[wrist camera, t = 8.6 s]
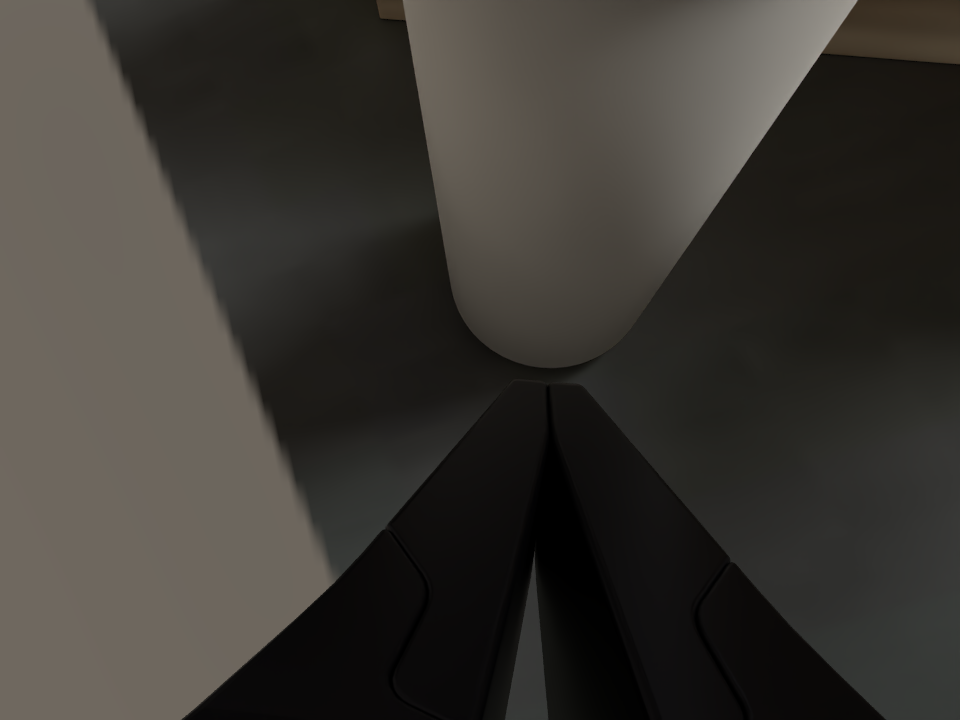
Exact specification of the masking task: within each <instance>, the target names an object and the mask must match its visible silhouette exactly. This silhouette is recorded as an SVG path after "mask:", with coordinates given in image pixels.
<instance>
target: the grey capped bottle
mask: <svg viewBox="0 0 960 720" xmlns="http://www.w3.org/2000/svg"><path fill="white" fill-rule="evenodd" d="M857 1H858V0H403V5H404V11H405V17H406V23H407V29H408V35H409V41H410V47H411V53H412V59H413V65H414V71H415V77H416V83H417V88H418V94H419V100H420V106H421V112H422V118H423V124H424V130H425V136H426V142H427V148H428V154H429V160H430V166H431V172H432V178H433V184H434V190H435V195H436V201H437V207H438V213H439V219H440V225H441V231H442V237H443V243H444V249H445V255H446V261H447V267H448V273H449V279H450V285H451V290H452V294H453V298H454V301H455V304H456V306H457V309H458V311H459V313H460V315H461V317H462V319H463V321H464V322H465V324H466V325H467V326H468V328H469V329H470V330H471V332H472V333H473V334H474V335H475V336H476V337H477V338H478V339H479V340H480V341H481V342H482V343H483V344H485V345H486V346H487V347H488V348H490V349H491V350H493V351H494V352H496V353H498V354H499V355H501V356H503V357H505V358H507V359H509V360H512V361H514V362H517V363H520V364H524V365H527V366H533V367H539V368H561V367H569V366H573V365H578V364H581V363H584V362H587V361H590V360H592V359H594V358H596V357H598V356H600V355H602V354H604V353H605V352H607V351H608V350H610V349H611V348H612V347H614V346H615V345H616V344H617V343H618V342H619V341H620V340H622V339H623V338H624V337H625V335H626V334H627V333H628V332H629V330H630V329H631V328H632V327H633V325H634V324H635V322H636V321H637V319H638V318H639V317H640V315H641V314H642V312H643V311H644V309H645V308H646V306H647V305H648V304H649V302H650V301H651V299H652V298H653V296H654V295H655V293H656V292H657V291H658V289H659V288H660V286H661V285H662V283H663V282H664V280H665V279H666V277H667V276H668V275H669V273H670V272H671V270H672V269H673V267H674V266H675V264H676V263H677V262H678V260H679V259H680V257H681V256H682V254H683V253H684V251H685V250H686V248H687V247H688V246H689V244H690V243H691V241H692V240H693V238H694V237H695V235H696V234H697V233H698V231H699V230H700V228H701V227H702V225H703V224H704V222H705V221H706V220H707V218H708V217H709V215H710V214H711V212H712V211H713V209H714V208H715V206H716V205H717V204H718V202H719V201H720V199H721V198H722V196H723V195H724V193H725V192H726V191H727V189H728V188H729V186H730V185H731V183H732V182H733V180H734V179H735V178H736V176H737V175H738V173H739V172H740V170H741V169H742V167H743V166H744V164H745V163H746V162H747V160H748V159H749V157H750V156H751V154H752V153H753V151H754V150H755V149H756V147H757V146H758V144H759V143H760V141H761V140H762V138H763V137H764V135H765V134H766V133H767V131H768V130H769V128H770V127H771V125H772V124H773V122H774V121H775V120H776V118H777V117H778V115H779V114H780V112H781V111H782V109H783V108H784V107H785V105H786V104H787V102H788V101H789V99H790V98H791V96H792V95H793V93H794V92H795V91H796V89H797V88H798V86H799V85H800V83H801V82H802V80H803V79H804V78H805V76H806V75H807V73H808V72H809V70H810V69H811V67H812V66H813V65H814V63H815V62H816V60H817V59H818V57H819V56H820V54H821V53H822V51H823V50H824V49H825V47H826V46H827V44H828V43H829V41H830V40H831V38H832V37H833V36H834V34H835V33H836V31H837V30H838V28H839V27H840V25H841V24H842V23H843V21H844V20H845V18H846V17H847V15H848V14H849V12H850V11H851V9H852V8H853V7H854V5H855V4H856V2H857Z"/></svg>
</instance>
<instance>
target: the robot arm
mask: <svg viewBox="0 0 960 720" xmlns="http://www.w3.org/2000/svg"><path fill="white" fill-rule="evenodd" d="M534 551H535V570H536V584H537V596H538V607H539V618H540V630H541V641H542V652H543V664H544V675H545V686H546V698H547V709H548V720H886V719H885V718H884V717H883V716H882V715H881V714H879V713H878V712H877V711H876V710H875V709H874V708H873V707H872V706H871V705H870V704H869V703H868V702H867V701H866V700H865V699H864V698H863V697H862V696H861V695H860V694H859V693H858V692H857V691H856V690H855V689H854V688H852V687H851V686H850V685H849V684H848V683H847V682H846V681H845V680H844V679H843V678H842V677H841V676H840V675H839V674H838V673H837V672H836V671H835V670H834V669H833V668H832V667H831V666H830V665H829V664H828V663H827V662H826V661H825V660H824V659H823V658H822V657H821V656H820V655H819V654H818V653H817V652H816V651H815V650H814V649H813V648H812V647H811V646H810V645H809V644H808V643H807V642H806V641H805V640H804V639H803V638H802V637H801V636H800V635H799V634H798V633H797V632H796V631H795V630H794V629H793V628H792V627H791V626H790V625H789V624H788V623H787V621H786V620H785V619H784V618H783V617H782V616H781V615H780V614H779V613H778V611H777V610H776V609H775V608H774V607H773V606H772V605H771V604H770V603H769V602H768V600H767V599H766V598H765V597H764V596H763V595H762V594H761V593H760V592H759V590H758V589H757V588H756V587H755V586H754V585H753V584H752V582H751V581H750V580H749V579H748V578H747V577H746V575H745V574H744V573H743V572H742V571H741V570H740V568H739V567H738V566H737V565H736V564H735V563H733V562H731V563H730V557H729V556H728V555H727V554H726V553H725V551H724V550H723V549H722V548H721V547H720V546H719V544H718V543H717V542H716V541H715V540H714V539H713V537H712V536H711V535H710V534H709V533H708V532H707V530H706V529H705V528H704V527H703V526H702V525H701V523H700V522H699V521H698V520H697V519H696V518H695V516H694V515H693V514H692V513H691V512H690V511H689V509H688V508H687V507H686V506H685V505H684V504H683V502H682V501H681V500H680V499H679V498H678V497H677V495H676V494H675V493H674V492H673V491H672V490H671V488H670V487H669V486H668V485H667V484H666V483H665V481H664V480H663V479H662V478H661V477H660V476H659V474H658V473H657V472H656V471H655V470H654V469H653V467H652V466H651V465H650V464H649V463H648V462H647V460H646V459H645V458H644V457H643V456H642V455H641V453H640V452H639V451H638V450H637V449H636V448H635V446H634V445H633V444H632V443H631V442H630V441H629V439H628V438H627V437H626V436H625V435H624V434H623V432H622V431H621V430H620V429H619V428H618V426H617V425H616V424H615V423H614V422H613V421H612V419H611V418H610V417H609V416H608V415H607V414H606V412H605V411H604V410H603V409H602V408H601V407H600V405H599V404H598V403H597V402H596V401H595V400H594V398H593V397H592V396H591V395H590V394H589V393H588V391H587V390H586V389H585V388H584V387H583V386H581V385H579V384H569V383H557V382H553V383H550V384H549V385H548V387H547V385H546V384H545V383H544V382H542V381H534V380H523V379H515V380H512V381H511V382H510V383H509V385H508V386H507V387H506V388H505V389H504V390H503V392H502V393H501V394H500V395H499V396H498V397H497V398H496V400H495V401H494V402H493V403H492V404H491V405H490V407H489V408H488V409H487V410H486V411H485V412H484V413H483V415H482V416H481V417H480V418H479V419H478V420H477V422H476V423H475V424H474V425H473V426H472V427H471V428H470V430H469V431H468V432H467V433H466V434H465V435H464V437H463V438H462V439H461V440H460V441H459V442H458V443H457V445H456V446H455V447H454V448H453V449H452V450H451V452H450V453H449V454H448V455H447V456H446V457H445V458H444V460H443V461H442V462H441V463H440V464H439V465H438V467H437V468H436V469H435V470H434V471H433V472H432V473H431V475H430V476H429V477H428V478H427V479H426V480H425V482H424V483H423V484H422V485H421V486H420V487H419V488H418V490H417V491H416V492H415V493H414V494H413V495H412V497H411V498H410V499H409V500H408V501H407V502H406V503H405V505H404V506H403V507H402V508H401V509H400V510H399V512H398V513H397V514H396V515H395V516H394V517H393V518H392V520H391V521H390V522H389V523H388V524H387V526H386V529H384V530H382V531H381V532H380V533H379V534H378V535H377V536H376V538H375V539H374V540H373V541H372V542H371V543H370V545H369V546H368V547H367V548H366V549H365V550H364V552H363V553H362V554H361V555H360V556H359V557H358V558H357V559H356V560H355V561H354V562H353V563H352V564H351V566H350V567H349V568H348V569H347V570H346V571H345V572H344V573H343V574H342V575H341V576H340V577H339V578H338V579H337V580H336V582H335V583H334V584H333V585H332V586H330V587H329V588H328V589H327V590H326V591H325V592H324V593H323V594H322V595H321V596H320V597H319V598H318V599H317V600H315V601H314V602H313V603H312V604H311V605H310V606H309V607H308V608H307V609H306V610H305V611H304V612H303V613H302V614H301V615H299V616H298V617H297V618H296V619H295V620H294V621H293V622H292V623H291V624H289V625H288V626H287V627H286V628H285V629H284V630H283V631H282V632H280V633H279V634H278V635H277V636H276V637H275V638H274V639H273V640H271V641H270V642H269V643H268V644H267V645H266V646H265V647H264V648H262V649H261V650H260V651H259V652H258V653H257V654H256V655H255V656H254V657H252V658H251V659H250V660H249V661H248V662H247V663H246V664H244V665H243V666H242V667H241V668H240V669H239V670H238V671H237V672H235V673H234V674H233V675H232V676H231V677H230V678H229V679H228V680H227V681H225V682H224V683H223V684H222V685H221V686H220V687H219V688H217V690H215V691H214V692H213V693H212V694H211V695H210V696H208V697H207V698H206V699H205V700H204V701H203V702H202V703H201V704H199V705H198V706H197V707H196V708H195V709H194V710H193V711H191V712H190V713H189V714H188V715H186V716H185V717H184V718H183V719H182V720H505V715H506V710H507V704H508V699H509V693H510V688H511V682H512V677H513V671H514V666H515V661H516V655H517V650H518V644H519V639H520V633H521V628H522V622H523V617H524V611H525V606H526V600H527V595H528V589H529V584H530V579H531V572H532V565H533V558H534Z"/></svg>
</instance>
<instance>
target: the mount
mask: <svg viewBox="0 0 960 720" xmlns="http://www.w3.org/2000/svg"><path fill="white" fill-rule="evenodd" d="M376 2H377V6H378V11H379V16H380V18H383V19H395V20H406V17H405V11H404V5H403V0H376ZM822 53H823V54H836V55H849V56H861V57H874V58H886V59H899V60H912V61H924V62H937V63H949V64H960V0H858V1H857V2H856V4H855V5H854V7H853V8H852V9H851V11H850V12H849V14H848V15H847V17H846V18H845V20H844V21H843V23H842V24H841V25H840V27H839V28H838V30H837V31H836V33H835V34H834V36H833V37H832V38H831V40H830V41H829V43H828V44H827V46H826V47H825V49H824V50H823V51H822Z"/></svg>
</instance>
